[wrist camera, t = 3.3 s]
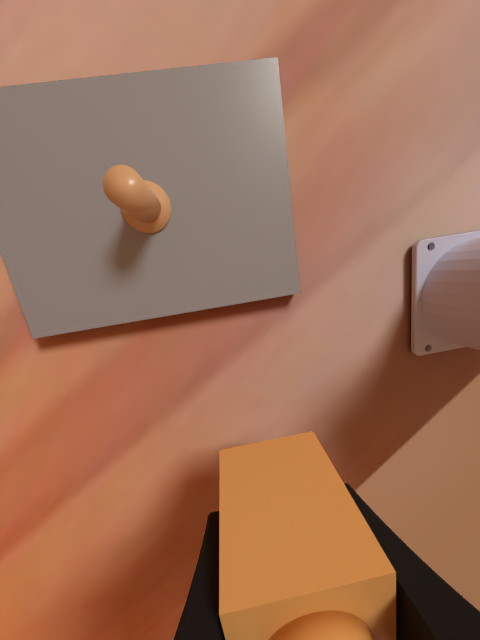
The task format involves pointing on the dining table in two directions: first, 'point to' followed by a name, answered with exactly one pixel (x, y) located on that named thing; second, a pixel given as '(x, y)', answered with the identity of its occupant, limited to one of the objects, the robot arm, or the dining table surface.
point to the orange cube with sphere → (297, 549)
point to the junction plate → (169, 147)
